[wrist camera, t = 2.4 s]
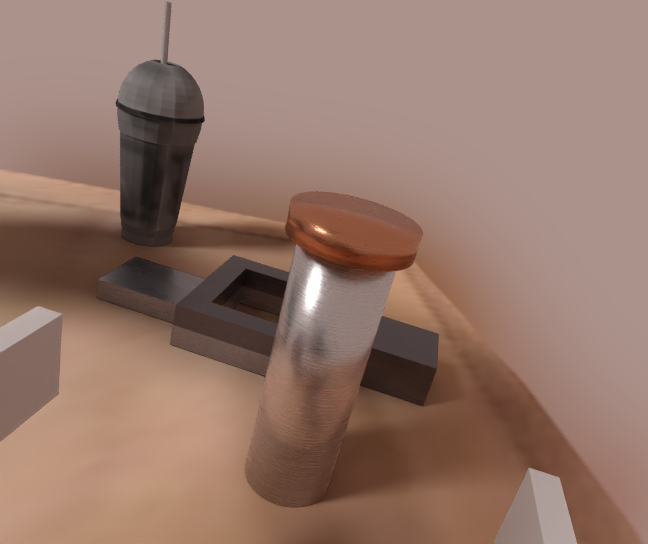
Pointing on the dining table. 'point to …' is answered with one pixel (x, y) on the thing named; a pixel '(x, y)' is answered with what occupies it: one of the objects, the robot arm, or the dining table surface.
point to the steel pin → (323, 338)
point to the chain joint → (258, 321)
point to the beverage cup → (156, 144)
